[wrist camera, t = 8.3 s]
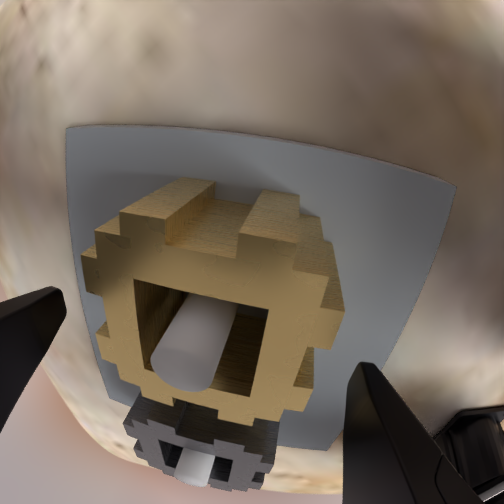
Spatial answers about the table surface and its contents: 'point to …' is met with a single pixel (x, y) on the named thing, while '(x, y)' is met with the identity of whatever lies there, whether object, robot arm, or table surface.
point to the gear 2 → (203, 441)
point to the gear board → (247, 191)
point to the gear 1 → (218, 293)
